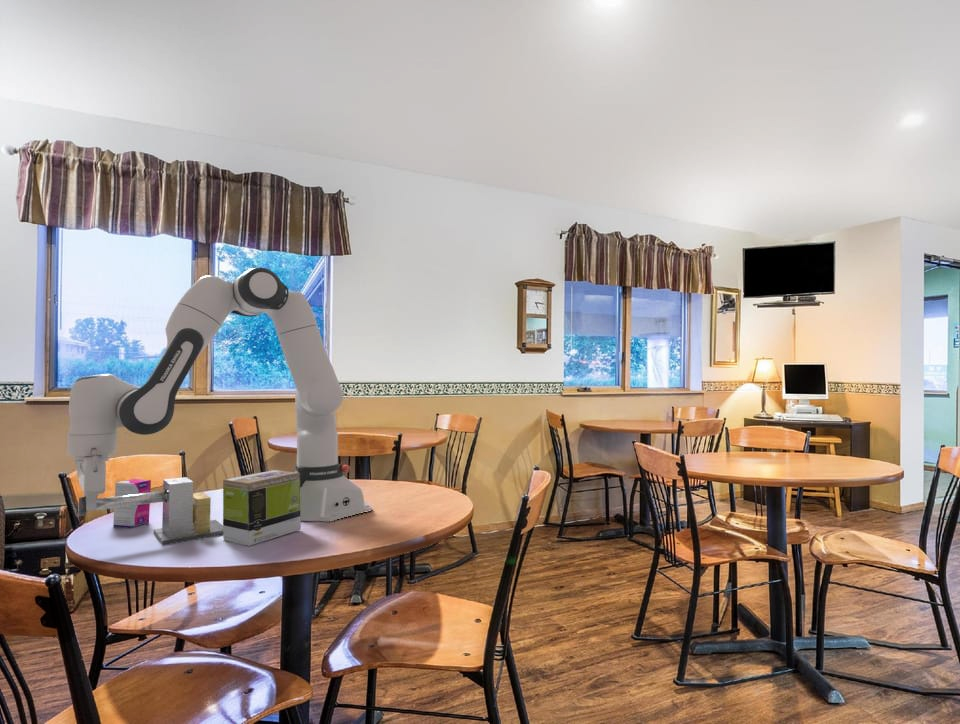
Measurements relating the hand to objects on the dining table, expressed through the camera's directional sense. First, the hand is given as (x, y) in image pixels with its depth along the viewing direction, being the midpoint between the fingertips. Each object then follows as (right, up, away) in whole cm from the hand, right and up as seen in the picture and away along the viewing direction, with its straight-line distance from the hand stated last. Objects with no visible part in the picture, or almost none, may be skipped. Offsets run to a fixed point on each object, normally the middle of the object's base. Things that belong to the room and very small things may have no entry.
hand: (90, 508), depth 115 cm
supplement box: (-5, -10, +21) cm, 24 cm away
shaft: (+6, -1, +5) cm, 8 cm away
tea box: (+34, -10, +11) cm, 37 cm away
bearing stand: (+15, -10, +13) cm, 22 cm away
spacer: (+17, -9, +14) cm, 23 cm away
